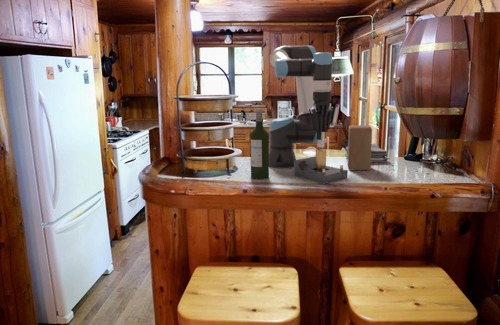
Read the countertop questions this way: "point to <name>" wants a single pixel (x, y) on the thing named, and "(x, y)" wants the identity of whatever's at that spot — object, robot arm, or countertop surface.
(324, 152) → the brass cylinder
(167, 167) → the countertop surface
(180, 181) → the countertop surface
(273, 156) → the robot arm
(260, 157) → the wine bottle
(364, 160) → the wooden block
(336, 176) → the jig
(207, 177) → the countertop surface
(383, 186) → the countertop surface
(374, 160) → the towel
